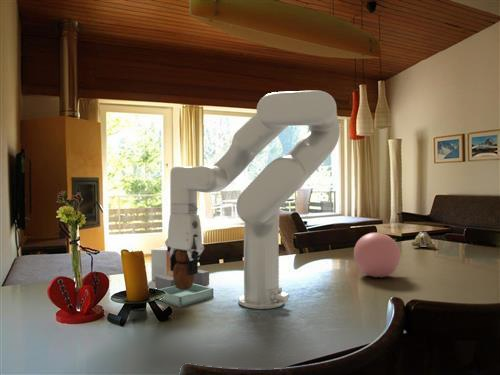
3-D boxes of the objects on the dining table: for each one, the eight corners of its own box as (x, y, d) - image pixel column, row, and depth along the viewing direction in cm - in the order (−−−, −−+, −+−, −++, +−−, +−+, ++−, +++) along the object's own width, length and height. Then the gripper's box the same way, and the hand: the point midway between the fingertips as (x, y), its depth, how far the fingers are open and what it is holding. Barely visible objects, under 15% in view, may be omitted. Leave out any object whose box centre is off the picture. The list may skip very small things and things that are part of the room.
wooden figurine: (171, 286, 116) (171, 234, 116) (191, 284, 118) (191, 234, 118) (175, 292, 109) (175, 237, 109) (196, 290, 111) (196, 236, 111)
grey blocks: (209, 283, 130) (209, 271, 130) (171, 293, 118) (171, 280, 118) (193, 280, 135) (192, 268, 135) (155, 289, 123) (154, 276, 123)
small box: (166, 281, 134) (166, 250, 133) (151, 280, 135) (150, 249, 135) (175, 275, 141) (175, 246, 141) (161, 275, 143) (160, 245, 142)
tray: (213, 297, 115) (213, 288, 115) (180, 307, 105) (179, 297, 105) (188, 290, 122) (188, 282, 122) (154, 299, 113) (154, 290, 113)
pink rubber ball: (415, 275, 140) (415, 231, 140) (384, 284, 127) (384, 236, 127) (376, 268, 152) (376, 228, 152) (344, 276, 139) (344, 232, 139)
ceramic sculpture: (434, 228, 205) (434, 234, 191) (434, 245, 205) (435, 251, 192) (412, 228, 209) (410, 233, 195) (412, 244, 210) (411, 250, 196)
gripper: (214, 210, 110) (214, 274, 111) (175, 208, 122) (175, 265, 122) (193, 212, 105) (193, 279, 105) (154, 209, 116) (154, 269, 116)
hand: (183, 271), depth 114 cm, fingers closed on wooden figurine, 7 cm apart
